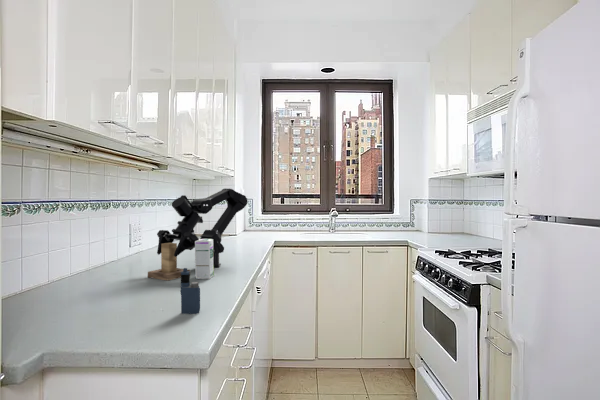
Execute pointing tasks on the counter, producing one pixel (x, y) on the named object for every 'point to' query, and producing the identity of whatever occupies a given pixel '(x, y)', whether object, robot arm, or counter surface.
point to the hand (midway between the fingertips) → (166, 255)
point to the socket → (165, 274)
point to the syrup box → (204, 259)
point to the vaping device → (189, 294)
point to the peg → (168, 257)
